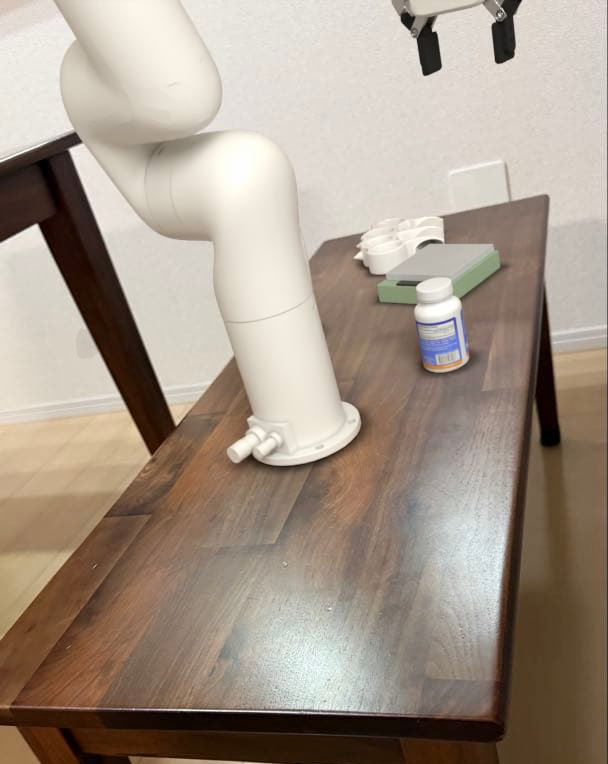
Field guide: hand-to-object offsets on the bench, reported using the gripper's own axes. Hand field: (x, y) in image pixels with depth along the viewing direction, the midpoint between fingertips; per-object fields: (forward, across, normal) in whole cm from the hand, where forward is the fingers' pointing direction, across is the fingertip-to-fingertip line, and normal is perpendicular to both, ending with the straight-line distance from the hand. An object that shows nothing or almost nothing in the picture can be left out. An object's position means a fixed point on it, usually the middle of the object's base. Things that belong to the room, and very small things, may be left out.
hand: (467, 67), depth 96 cm
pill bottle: (+28, +4, -18) cm, 34 cm away
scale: (+27, -11, +4) cm, 30 cm away
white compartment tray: (+28, -27, +15) cm, 41 cm away
